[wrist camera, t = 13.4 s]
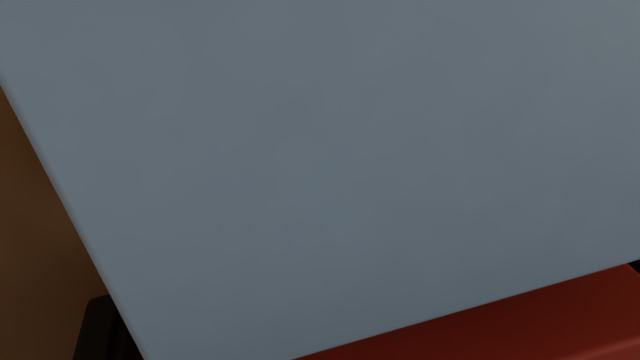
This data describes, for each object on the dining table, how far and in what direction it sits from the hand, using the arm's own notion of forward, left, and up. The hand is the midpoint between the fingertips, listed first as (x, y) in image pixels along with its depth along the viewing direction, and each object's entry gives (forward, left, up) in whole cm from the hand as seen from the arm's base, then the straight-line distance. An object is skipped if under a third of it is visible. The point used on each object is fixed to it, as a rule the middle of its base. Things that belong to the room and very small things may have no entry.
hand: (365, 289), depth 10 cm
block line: (0, +12, -1) cm, 12 cm away
